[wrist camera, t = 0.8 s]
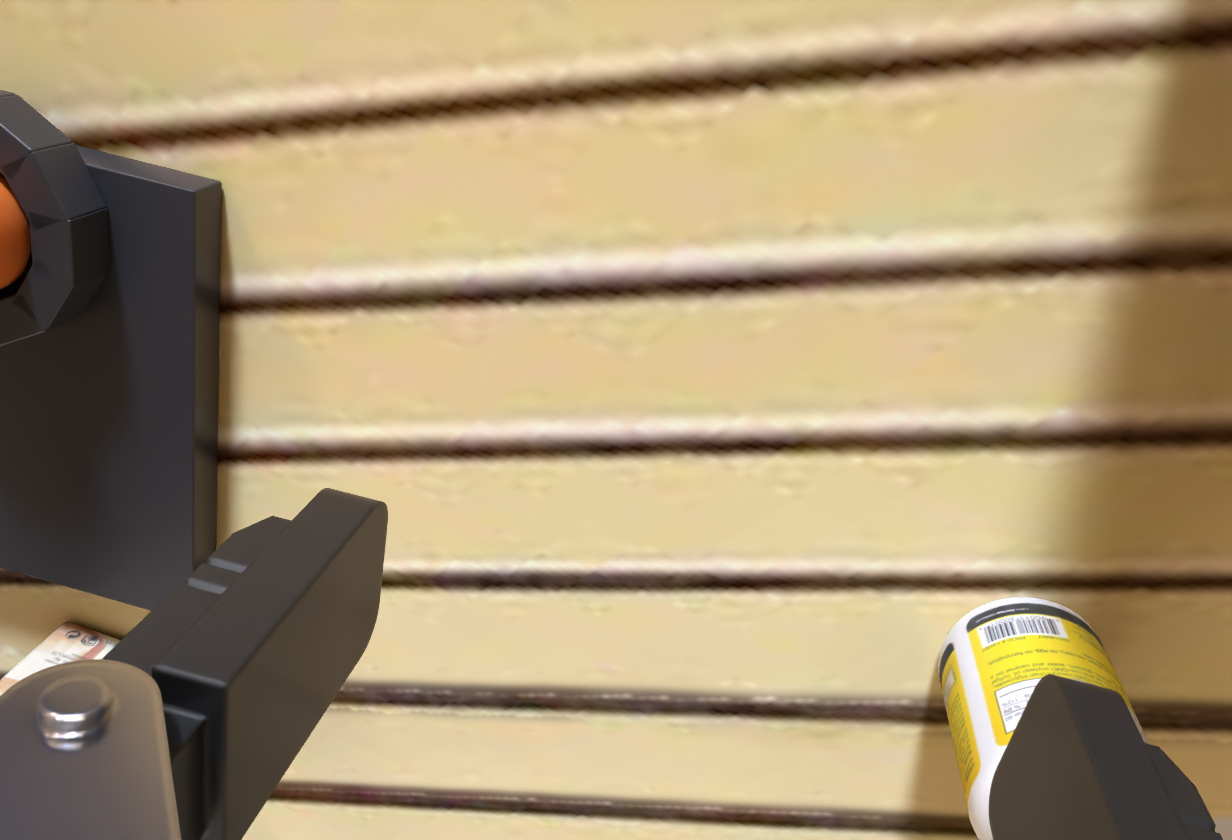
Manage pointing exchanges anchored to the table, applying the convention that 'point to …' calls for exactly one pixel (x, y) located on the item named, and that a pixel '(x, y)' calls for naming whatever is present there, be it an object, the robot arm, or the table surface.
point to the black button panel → (108, 368)
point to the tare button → (12, 236)
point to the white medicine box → (61, 651)
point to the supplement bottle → (1010, 681)
